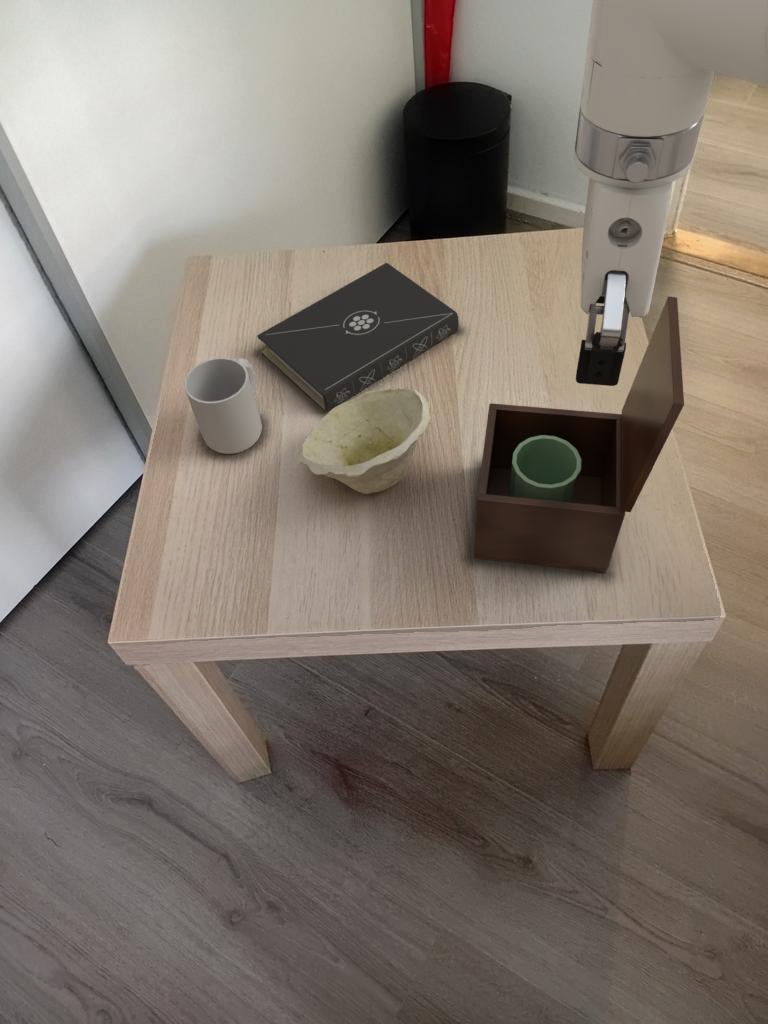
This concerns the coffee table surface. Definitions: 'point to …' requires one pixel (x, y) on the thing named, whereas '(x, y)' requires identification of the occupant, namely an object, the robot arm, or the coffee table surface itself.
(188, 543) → the coffee table surface
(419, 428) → the bowl
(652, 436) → the lid
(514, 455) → the green cup
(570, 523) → the chest
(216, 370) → the cup
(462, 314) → the coffee table surface
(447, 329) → the book
